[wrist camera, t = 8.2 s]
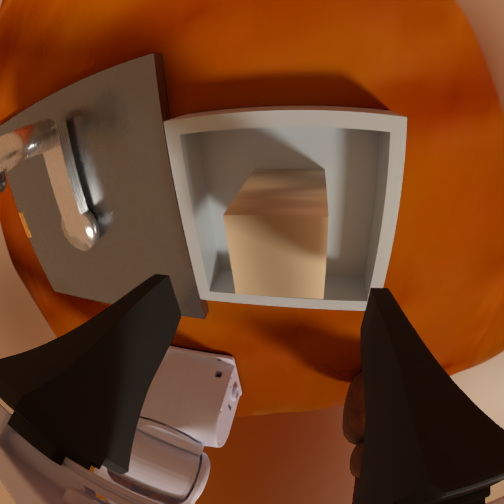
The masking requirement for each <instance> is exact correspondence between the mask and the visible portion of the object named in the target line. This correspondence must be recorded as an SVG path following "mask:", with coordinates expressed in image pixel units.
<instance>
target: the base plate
mask: <svg viewBox="0 0 504 504" xmlns="http://www.w3.org/2000/svg"><path fill="white" fill-rule="evenodd" d="M46 118H50V119H52V120H53V121H54V123H55V124H56V123H59V122H62V121H65V120H66V124H67V129H68V134H69V139H70V143H71V148H72V152H73V156H74V161H75V165H76V168H77V172H78V176H79V180H80V183H81V187H82V190H83V194H84V197H85V201H86V204H87V207H88V210H89V211H90V212H91V213H92V214H93V215H94V217H95V218H96V220H97V222H98V225H99V229H100V237H99V240H98V241H97V242H96V243H95V244H94V245H93V246H92V247H91V248H90V249H89V250H86V251H82V250H79V249H77V248H75V247H74V246H73V245H72V244H71V243H70V242H69V241H68V240H67V238H66V237H65V235H64V233H63V230H62V226H61V217H62V216H61V213H60V210H59V207H58V204H57V201H56V198H55V195H54V192H53V188H52V185H51V181H50V178H49V174H48V171H47V167H46V163H45V159H44V155H43V153H42V154H40V155H38V156H36V157H34V158H32V159H30V160H28V161H26V162H24V163H22V164H20V165H19V166H17V167H15V168H13V169H11V170H9V171H8V172H6V173H7V177H8V180H9V184H10V187H11V190H12V193H13V196H14V199H15V202H16V205H17V208H18V211H19V216H20V219H21V221H22V224H23V226H24V229H25V231H26V234H27V236H28V237H29V239H30V242H31V244H32V246H33V249H34V251H35V253H36V255H37V257H38V260H39V262H40V264H41V266H42V268H43V270H44V272H45V274H46V276H47V278H48V280H49V282H50V284H51V286H52V288H53V290H54V291H55V292H59V293H64V294H68V295H72V296H77V297H81V298H86V299H90V300H95V301H100V302H105V303H110V304H113V303H115V302H116V301H118V300H119V299H120V298H122V297H123V296H124V295H126V294H127V293H129V292H130V291H131V290H133V289H134V288H135V287H137V286H138V285H140V284H141V283H142V282H144V281H145V280H147V279H148V278H150V277H151V276H153V275H155V274H162V275H169V276H170V280H171V283H172V286H173V289H174V292H175V296H176V299H177V302H178V305H179V308H180V311H181V314H182V315H181V316H187V317H194V318H202V319H205V318H206V316H207V314H208V311H209V310H208V306H207V302H206V300H203V299H200V295H199V292H198V288H197V284H196V280H195V276H194V272H193V268H192V263H191V259H190V255H189V251H188V246H187V242H186V238H185V233H184V229H183V224H182V220H181V215H180V210H179V205H178V200H177V195H176V190H175V185H174V180H173V175H172V169H171V164H170V158H169V152H168V147H167V141H166V135H165V128H164V121H167V120H170V114H169V107H168V100H167V92H166V84H165V76H164V67H163V58H162V54H158V53H152V54H149V55H146V56H142V57H139V58H136V59H133V60H130V61H127V62H124V63H122V64H119V65H116V66H113V67H111V68H108V69H106V70H103V71H101V72H98V73H96V74H93V75H91V76H89V77H86V78H84V79H82V80H80V81H78V82H75V83H73V84H71V85H69V86H67V87H65V88H63V89H61V90H59V91H57V92H55V93H53V94H51V95H50V96H48V97H46V98H44V99H42V100H40V101H39V102H37V103H35V104H34V105H32V106H30V107H28V108H27V109H25V110H24V111H22V112H20V113H19V114H17V115H16V116H14V117H13V118H11V119H10V120H8V121H7V122H5V123H4V124H2V125H1V126H0V136H2V135H4V134H7V133H9V132H11V131H14V130H16V129H19V128H21V127H24V126H26V125H29V124H32V123H34V122H37V121H40V120H43V119H46Z"/></svg>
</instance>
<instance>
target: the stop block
mask: <svg viewBox="0 0 504 504" xmlns="http://www.w3.org/2000/svg"><path fill="white" fill-rule="evenodd" d="M223 218H224V225H225V231H226V237H227V244H228V250H229V256H230V262H231V268H232V274H233V280H234V286H235V292H236V294H245V295H260V296H275V297H293V298H312V299H323V298H324V287H325V274H326V260H327V243H328V221H329V215H328V200H327V188H326V176H325V169H254V170H253V172H252V173H251V174H250V176H249V177H248V179H247V180H246V182H245V183H244V185H243V186H242V188H241V189H240V191H239V192H238V194H237V195H236V197H235V198H234V199H233V201H232V202H231V204H230V205H229V207H228V208H227V210H226V211H225V213H224V215H223Z"/></svg>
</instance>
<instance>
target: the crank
mask: <svg viewBox="0 0 504 504" xmlns="http://www.w3.org/2000/svg"><path fill="white" fill-rule="evenodd" d="M42 153H43V155H44V159H45V163H46V167H47V171H48V174H49V178H50V181H51V185H52V188H53V192H54V195H55V198H56V201H57V204H58V207H59V210H60V213H61V216H62V217H61V226H62V230H63V233H64V235H65V237H66V238H67V240H68V241H69V242H70V243H71V244H72V245H73V246H74V247H75V248H77V249H79V250H82V251H86V250H89V249H90V248H91V247H92V246H93V245H94V244H95V243H96V242H97V241H98V240H99V237H100V229H99V225H98V222H97V220H96V218H95V217H94V215H93V214H92V213H91V212H90V211H89V210H88V207H87V204H86V201H85V197H84V194H83V190H82V187H81V183H80V180H79V176H78V172H77V168H76V165H75V161H74V156H73V152H72V148H71V143H70V139H69V134H68V129H67V124H66V120H65V121H62V122H59V123H56V124H55V123H54V121H53V120H52V119H50V118H46V119H43V120H40V121H37V122H34V123H32V124H29V125H26V126H24V127H21V128H19V129H16V130H14V131H11V132H9V133H7V134H4V135H2V136H0V193H1V192H3V191H4V189H5V188H6V184H7V181H6V177H5V173H6V172H8V171H9V170H11V169H13V168H15V167H17V166H19V165H20V164H22V163H24V162H26V161H28V160H30V159H32V158H34V157H36V156H38V155H40V154H42Z"/></svg>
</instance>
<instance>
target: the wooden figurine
mask: <svg viewBox="0 0 504 504" xmlns="http://www.w3.org/2000/svg"><path fill="white" fill-rule="evenodd" d="M343 433H344V436H345V437H346V439H347V440H348V442H350V443H352V444H355V445H357V446H356V447H355V448H354V450H353V452H352V454H351V459H350V470H351V474H352V475H353V476H355V486H354V493H353V502H352V504H354V500H355V496H356V491H357V487H358V481H359V475H360V469H361V462H362V454H363V445H364V433H365V398H364V385H363V374H362V372H360V373H359V374H357V375H356V376H355V377H354V379H353V381H352V382H351V384H350V386H349V389H348V392H347V395H346V400H345V404H344V412H343Z"/></svg>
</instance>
